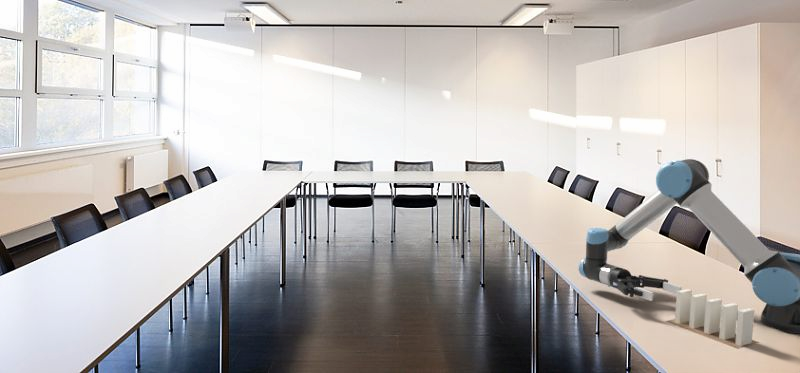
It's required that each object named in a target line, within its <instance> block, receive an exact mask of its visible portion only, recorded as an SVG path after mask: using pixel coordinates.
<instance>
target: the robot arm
mask: <svg viewBox="0 0 800 373" xmlns="http://www.w3.org/2000/svg"><path fill="white" fill-rule="evenodd" d="M709 179H710V173H709V170H708V168H707V167H706V165H705V164H704V163H703V162H701V161H699V160H696V159H694V158H690V159H687V158H686V159H682V160H677V159H676V160H671V161H670V162H666V163H665V164H663V165H662V166H661V167H659V170H658V171H657V174H656V177H655V184H656V188H657V191H655V192H654V193H653V194H652V195H650V196H649V197H648V198H647V199H645V200H644V201H643V202H642V203H640V204H639V205H638V206H637V207H635V208H634V209H633V210H632V211H630V213H628V214H627V215H625V216H624V217H623V218H622V219H621V220H619V221H618V222H617V223H616V224H615V225H614V226H612V227H611V228H610V229H609V230H607V229H605V228H602V227H601V228H600V227H594V228H593V227H592V228H589V229H588V230H587V234H586V239H585V240H586V246H585V247H586V248H585V257H584V258H582V259H581V260H580V262H579V265H578V271H579V274H580V275H581V277H584V278H586V279H588V280H590V281H594V282H596V283H597V282H598V283H600V284H603V285H606V286H607V287H608V288H610V287H612V288H614V289H616V290H618V291H620V292H621V293H622V294H623V295H625V296H629V297H630V298H634V297H635V296H636V297H639V298H641V299H644V300H647V301H650V302H653V300H654V299H653V298H654V292H652V291H650V290H647V289H643V288H652V289H653V288H655V289H662V290H663V291H665V292H669V293H672V294H673V295H674V294H675V295H677V291H681V290H682V289H683V288H682V286H679V285H677V284H673V283H671V282H669V280H668V279H666V278H664V279H663V278H657V277H649V276H644V275H641V274H640V275H632V274H631V272H630V271H629V270H628V269H626V268H623V267H621V266H616V265H612V264H610V263H607V262H608V252H611V251H615V250H618V249H619V250H620V249H621V248H624V247H625V246H626V245H627V244H628V242H630V240H631V239H633V238H634V237H635V236H637V235H638V234H639V233H641V231H643V230H644V229H646V228H647V227H648V226H650V224H652V223H653V222H655V221H656V220H658V218H660V217H662V215H664V214H665V213H666V212H668V211H669V210H671V209H672V208H673V207H674V206H675V205H677V204H678V205H679V207H680V208H683V209H689V210H690V211H691V213H693V215H695V217H697V219H698V220H699V221H701V223H702V224H703V225H704V226H705V227H706V228H707V229H708V231H710V232H711V234H712V235H713V236H714V237H715V238H716V239H717V240H718V241H719V243H721V244H722V246H723V247H725V249H726V250H728V252H729V253H730V254H731V255H732V256H733V258H735V259H736V260H737V261H738V262H739V263H740V264H741V266H743V268H744V272H743V275H744V276H745V277H746V279H747V280H748V281H749V282H750V283H751V286H752V292H753V293H754V294H755V296H756V297H757V298H758V300H760V301H761V302H763V303H765V306H764V307H763V310H762V312H761V315H760V322H761V323H762V324H763V325H764V326H766V327H769V328H771V329H774V330H777V331H781V332H786V333H789V334H790V333H792V334H798V335H800V254H797V253H790V252H781V251H775V250H770V249H769V248H768V247H767V246H766V245H765V244H764V243H763V242H762V241H761V240H760V239H759V238H758V237H757V236H756V235H755V234H754V233H753V232H752V231H751V230H750V229H749V228H748V227H747V225H745V224H744V223H743V222H742V220H740V219H739V218H738V217H737V216H736V214H734V212H733V211H731V209H730V208H728V206H727V205H725V204H724V202H723V201H722V200H720V198H719V197H718V196H717V195H716V194H715V193H714V192H713V191H712V185H713V184H712V183H711V182H710V181H709Z"/></svg>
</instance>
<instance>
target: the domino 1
mask: <svg viewBox="0 0 800 373" xmlns="http://www.w3.org/2000/svg"><path fill="white" fill-rule="evenodd" d="M692 294H693V290H691V289H689V288H686V289H681V291H677V294H676V300H675V301H676V303H675V315H674V319H675V322H677V323H682V322H687V321H690V308H691V296H693V295H692Z"/></svg>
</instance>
